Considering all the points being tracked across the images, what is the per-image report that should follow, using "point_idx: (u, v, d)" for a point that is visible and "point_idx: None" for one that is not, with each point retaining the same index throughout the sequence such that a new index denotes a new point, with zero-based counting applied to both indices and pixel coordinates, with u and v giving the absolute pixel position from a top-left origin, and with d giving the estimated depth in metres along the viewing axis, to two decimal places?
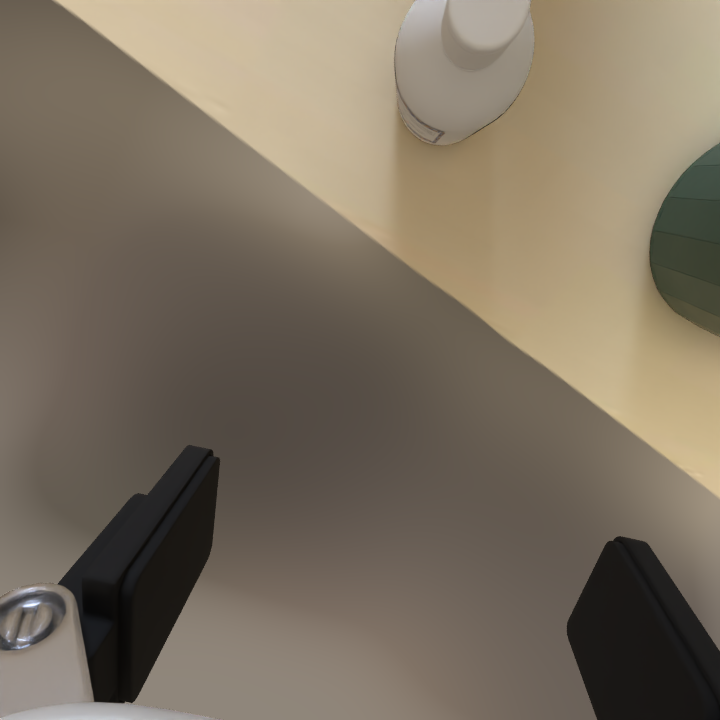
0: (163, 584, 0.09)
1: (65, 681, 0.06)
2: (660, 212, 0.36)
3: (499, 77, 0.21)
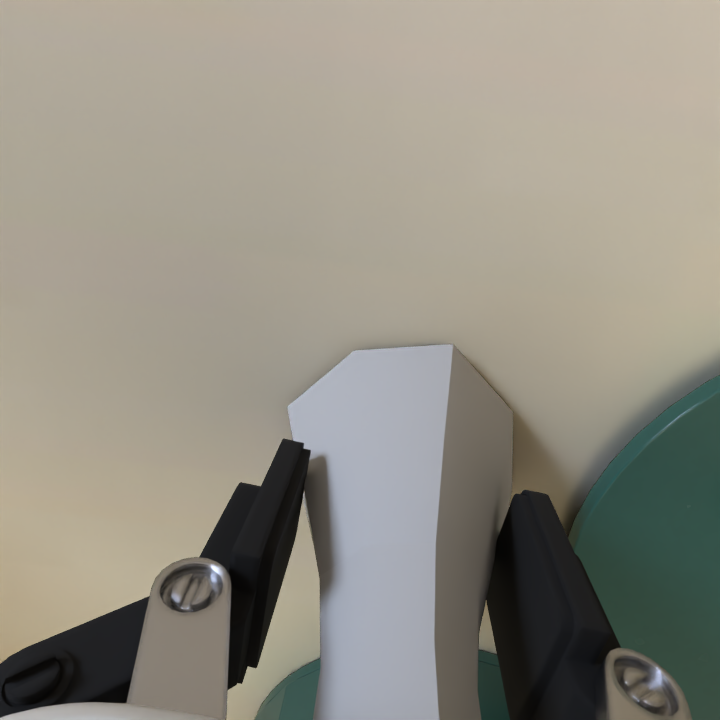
0: (279, 562, 0.10)
1: (209, 654, 0.07)
2: None
3: None
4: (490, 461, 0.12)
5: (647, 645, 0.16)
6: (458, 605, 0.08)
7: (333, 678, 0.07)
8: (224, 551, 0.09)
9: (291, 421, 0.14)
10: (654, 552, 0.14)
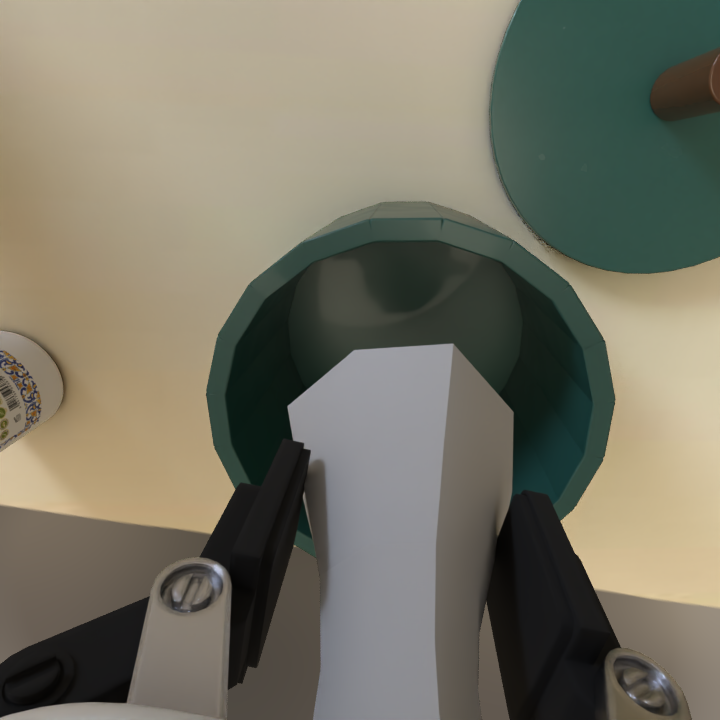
0: (280, 562, 0.10)
1: (209, 655, 0.07)
2: None
3: None
4: (491, 461, 0.12)
5: (547, 160, 0.24)
6: (458, 604, 0.08)
7: (333, 678, 0.07)
8: (224, 551, 0.09)
9: (291, 421, 0.14)
10: (545, 71, 0.23)
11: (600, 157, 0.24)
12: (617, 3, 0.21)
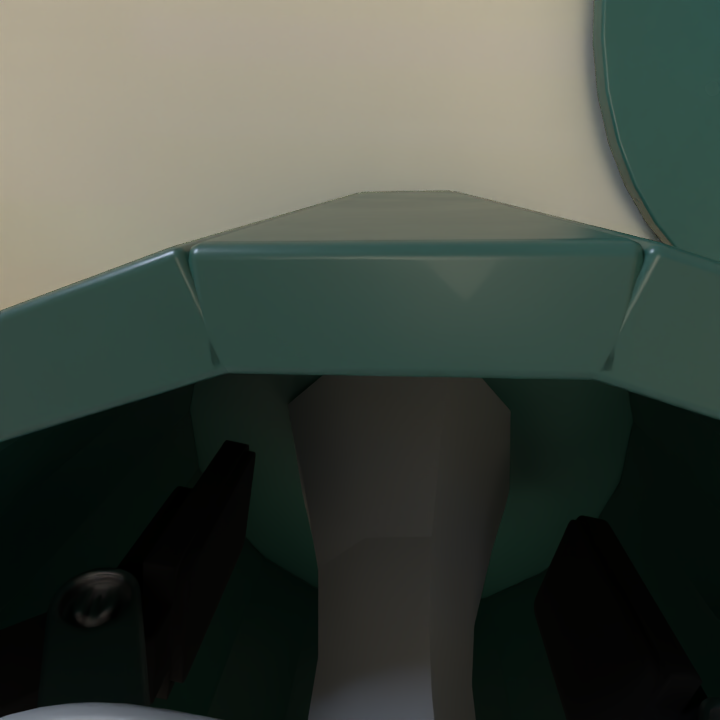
0: (210, 571, 0.09)
1: (124, 664, 0.06)
2: None
3: None
4: (487, 458, 0.12)
5: None
6: (453, 597, 0.09)
7: (330, 666, 0.08)
8: None
9: (291, 419, 0.14)
10: None
11: None
12: None
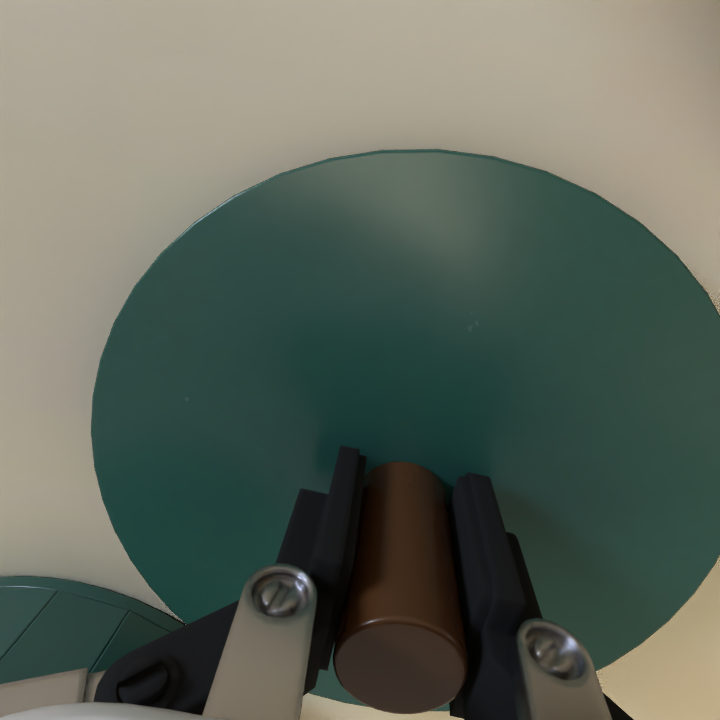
0: None
1: (289, 664, 0.07)
2: None
3: None
4: None
5: (212, 569, 0.14)
6: None
7: None
8: (298, 557, 0.09)
9: None
10: (174, 456, 0.13)
11: None
12: (269, 368, 0.12)
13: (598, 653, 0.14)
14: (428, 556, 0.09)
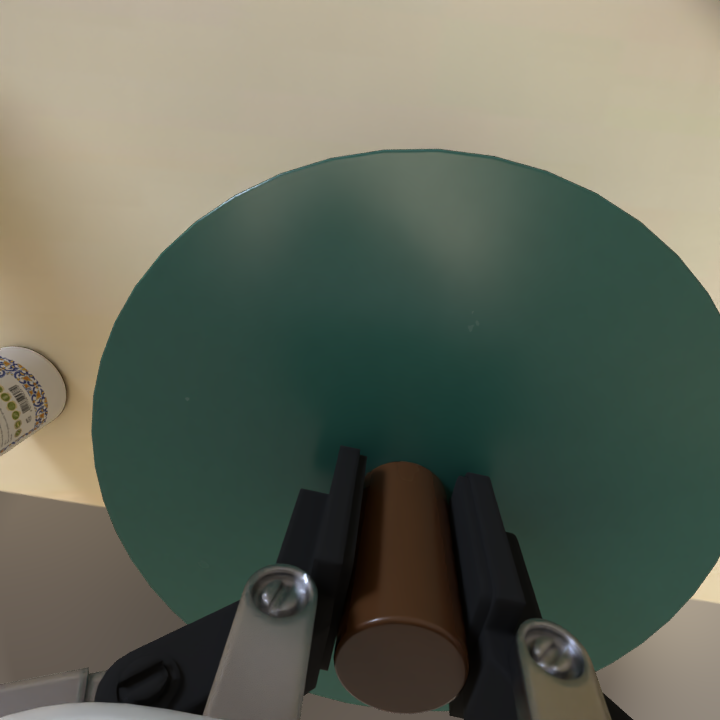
0: None
1: (289, 664, 0.07)
2: None
3: None
4: None
5: (213, 568, 0.14)
6: None
7: None
8: (298, 557, 0.09)
9: None
10: (175, 456, 0.13)
11: None
12: (269, 368, 0.12)
13: (599, 653, 0.14)
14: (429, 556, 0.09)
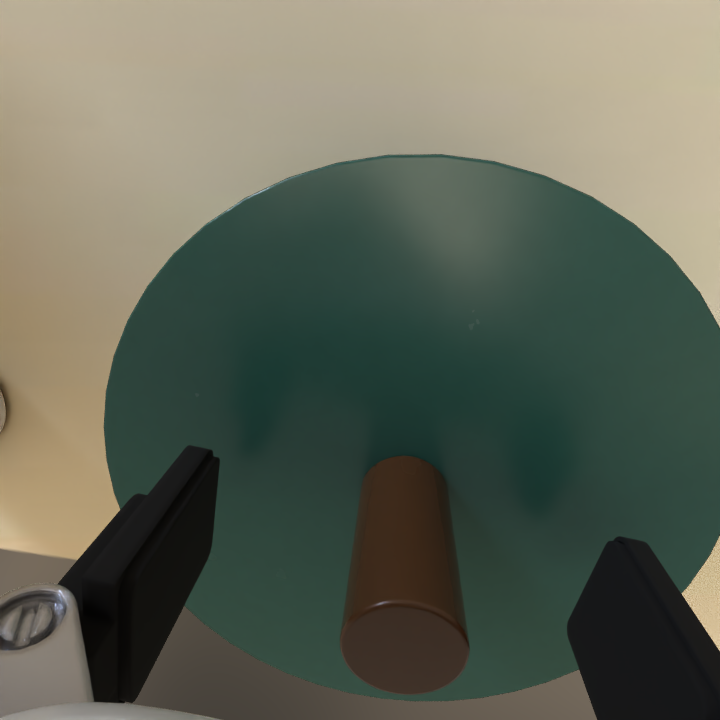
0: (163, 584, 0.09)
1: (65, 681, 0.06)
2: None
3: None
4: None
5: (220, 560, 0.15)
6: None
7: None
8: None
9: None
10: None
11: (302, 563, 0.14)
12: (277, 365, 0.12)
13: None
14: (431, 544, 0.10)
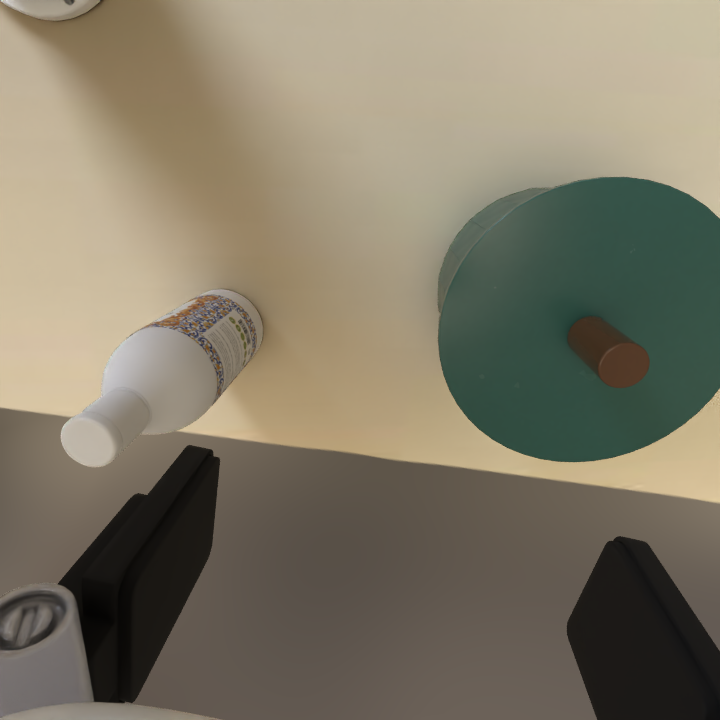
0: (163, 584, 0.09)
1: (65, 681, 0.06)
2: None
3: (168, 414, 0.28)
4: None
5: (486, 378, 0.29)
6: None
7: None
8: None
9: None
10: (481, 317, 0.28)
11: (529, 378, 0.29)
12: (537, 272, 0.26)
13: (676, 419, 0.29)
14: (625, 335, 0.24)
